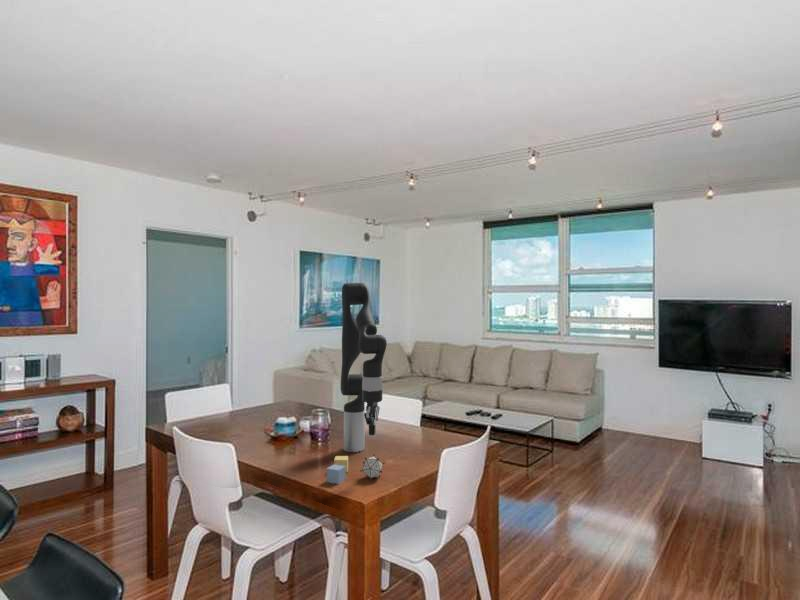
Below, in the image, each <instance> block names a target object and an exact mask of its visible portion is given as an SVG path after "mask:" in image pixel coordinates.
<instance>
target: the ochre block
mask: <svg viewBox="0 0 800 600" xmlns="http://www.w3.org/2000/svg"><path fill="white" fill-rule="evenodd" d="M333 461H334V463H333V465H341V466H346V472H347V473H348V472H349V455H336V456H335V457H334V460H333Z"/></svg>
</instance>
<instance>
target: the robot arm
mask: <svg viewBox="0 0 800 600" xmlns="http://www.w3.org/2000/svg"><path fill="white" fill-rule="evenodd" d="M358 305H362V307H361V309H360V310H359V311H358V313H357V316H356V318H355V317H354V316H353V313H352V311H351V306H358ZM341 311H342V312H341V313H342V326H341V327H342V329H341V371H340V372H341V374H340V392H341V395H343V396H356V398H355V399H352V400H351V401H349V402H346V403H345V404H344V405H343V451H345V452H346V453H347V452H348V453H359V451H360V452H363V451H364V450H365V437H366V436H365V432H366V431H365V430H366V429H365V426H366V425H368V435H369V436H374V435H376V433H377V432H376V425H377V422H378V420H379V415H380V414H379V413H380V409H381V408H380V407H381V406H379V403H381V402H382V401H383V377H382V374H383V373H382V370H383V369H382V368H383V361H384V356H385V352H386V351H387V350H386V349H387V342H388V341H387V338H386V337H385V336H384V335H383V334H377V333H378V328H377V324H376V321H375V319H374V315H373V310H372V303H371V296H370V290H369V287H368V285H367V284H366V283H365V282H349V283H346V282H345V283H344V284H342V287H341ZM361 353H362V354H363V355H364V354H365V355H374V356H373V358H371V359H366V360H365V361H363V363H362V373H358V374H357V373H356V374H353V373H352V374H350V372H351V368H352V366H353V364H354V363H355V361H356V360H357V359H358V357H359V356H360V354H361ZM365 403H366V406H365ZM365 422H366V423H365Z"/></svg>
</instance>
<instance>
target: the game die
mask: <svg viewBox="0 0 800 600" xmlns="http://www.w3.org/2000/svg"><path fill="white" fill-rule="evenodd" d="M375 454H376V453H375ZM375 454H374V453H373V456H370V457H368V458H367V457H364V460H365V461H363V462H362V464H363V465H362V469H360V470H359V472H363V473H364V474H365V475H366V477H369V478H370V481H372V479H373V478H376V477H379V478H380V477H381V475H380V474H381V473H383V471H382V468H383V465H385V464H386V463H385V462H382V461H380V460H379V459H380V458H379V457H378V458H377V457H376V456H375Z"/></svg>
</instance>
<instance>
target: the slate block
mask: <svg viewBox="0 0 800 600" xmlns="http://www.w3.org/2000/svg"><path fill="white" fill-rule="evenodd" d="M346 475H347V473H346V466H341V465H334V464H332V465H331V466H328V467H327V468H326V483H328V482H329V483H330V484H335V483H336V484H335V485H340V484H341V483H343V482H345V481H346V480H347V479H346V477H347V476H346ZM345 479H346V480H345ZM342 481H343V482H342ZM339 483H340V484H339Z"/></svg>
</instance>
